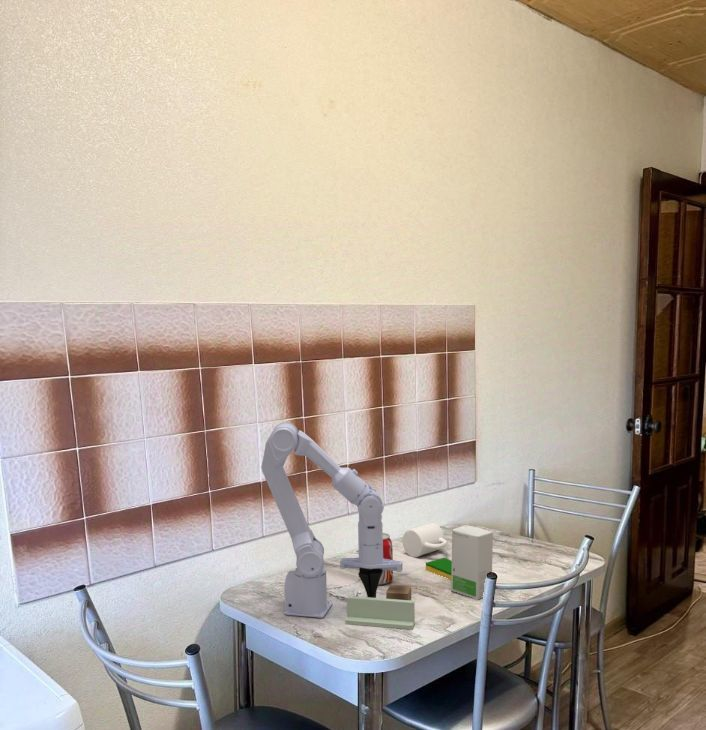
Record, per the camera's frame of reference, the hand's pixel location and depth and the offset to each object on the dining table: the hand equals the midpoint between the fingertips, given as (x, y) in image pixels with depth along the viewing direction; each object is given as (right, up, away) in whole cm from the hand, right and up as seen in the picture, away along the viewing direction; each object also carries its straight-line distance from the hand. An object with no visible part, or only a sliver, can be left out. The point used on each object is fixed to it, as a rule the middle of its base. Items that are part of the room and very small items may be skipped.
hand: (371, 599), depth 147 cm
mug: (+18, -1, +38) cm, 42 cm away
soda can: (+3, -2, +17) cm, 17 cm away
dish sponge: (+22, -2, +21) cm, 31 cm away
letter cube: (+6, -2, -2) cm, 7 cm away
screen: (+2, -2, -8) cm, 8 cm away
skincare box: (+25, -1, +8) cm, 27 cm away
